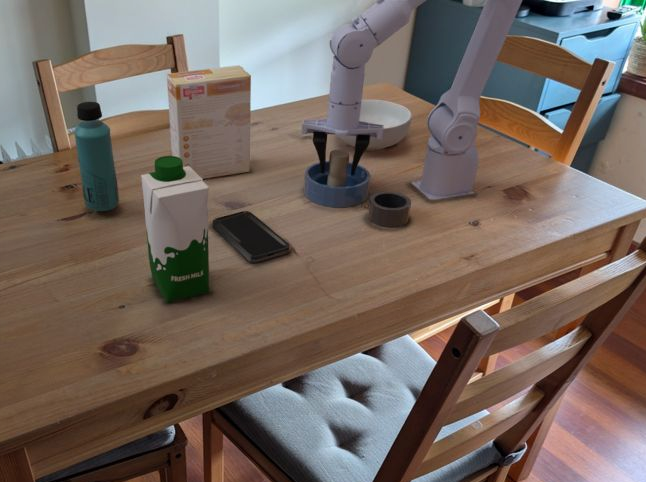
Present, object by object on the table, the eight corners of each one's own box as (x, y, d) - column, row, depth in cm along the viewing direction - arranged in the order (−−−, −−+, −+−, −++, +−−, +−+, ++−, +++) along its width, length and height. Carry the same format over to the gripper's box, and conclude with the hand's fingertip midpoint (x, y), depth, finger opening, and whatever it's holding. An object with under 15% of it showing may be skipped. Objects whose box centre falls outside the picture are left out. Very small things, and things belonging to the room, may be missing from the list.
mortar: (396, 209, 128) (399, 189, 126) (414, 227, 123) (418, 206, 120) (360, 214, 127) (363, 194, 124) (378, 232, 121) (381, 212, 119)
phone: (247, 209, 126) (292, 246, 115) (247, 215, 126) (291, 252, 116) (209, 219, 123) (251, 258, 113) (209, 225, 124) (251, 264, 113)
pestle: (340, 187, 134) (344, 148, 129) (348, 195, 131) (352, 155, 126) (323, 190, 133) (326, 150, 128) (330, 198, 131) (334, 158, 126)
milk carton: (195, 266, 113) (191, 150, 101) (217, 295, 107) (215, 174, 94) (145, 278, 110) (133, 160, 98) (164, 308, 104) (154, 186, 91)
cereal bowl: (331, 128, 159) (334, 97, 155) (404, 131, 158) (409, 100, 153) (329, 157, 146) (332, 125, 142) (409, 161, 145) (414, 128, 140)
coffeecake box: (239, 159, 146) (240, 64, 134) (250, 172, 141) (252, 75, 129) (171, 169, 143) (165, 72, 130) (180, 183, 137) (175, 83, 125)
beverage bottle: (127, 206, 130) (115, 100, 117) (108, 222, 125) (94, 113, 113) (98, 200, 132) (83, 95, 119) (78, 215, 127) (61, 107, 115)
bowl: (351, 178, 139) (353, 157, 136) (378, 205, 129) (381, 183, 127) (294, 186, 136) (295, 164, 133) (318, 214, 127) (320, 192, 124)
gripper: (301, 105, 119) (297, 178, 128) (386, 110, 117) (376, 184, 126) (305, 91, 124) (301, 162, 133) (387, 96, 122) (377, 168, 131)
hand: (337, 172), depth 130 cm, fingers open, 5 cm apart
